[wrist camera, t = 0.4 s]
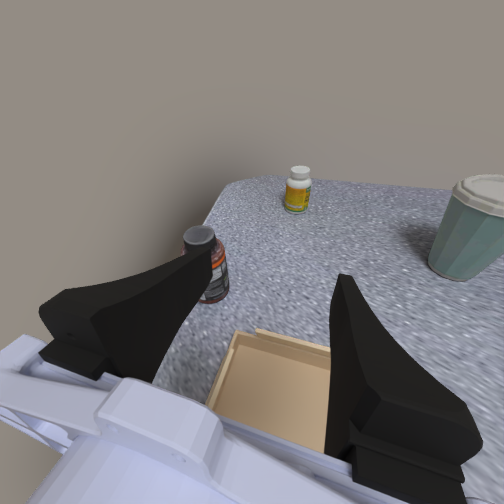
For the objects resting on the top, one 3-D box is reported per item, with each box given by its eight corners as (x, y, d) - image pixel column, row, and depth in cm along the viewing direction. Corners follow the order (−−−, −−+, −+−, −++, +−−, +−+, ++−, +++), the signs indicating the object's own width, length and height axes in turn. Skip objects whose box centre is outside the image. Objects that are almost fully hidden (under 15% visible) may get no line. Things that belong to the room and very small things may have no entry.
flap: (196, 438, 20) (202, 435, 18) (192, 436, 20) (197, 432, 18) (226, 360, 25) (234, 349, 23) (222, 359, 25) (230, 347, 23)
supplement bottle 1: (191, 279, 39) (175, 223, 31) (226, 273, 40) (219, 217, 32) (193, 309, 35) (174, 252, 27) (232, 301, 35) (225, 244, 28)
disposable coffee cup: (418, 282, 37) (476, 198, 27) (408, 242, 45) (450, 164, 35) (499, 298, 35) (595, 211, 25) (473, 252, 42) (539, 172, 32)
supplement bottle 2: (286, 202, 57) (289, 163, 51) (308, 204, 56) (314, 165, 50) (282, 213, 54) (285, 172, 47) (306, 216, 52) (312, 175, 46)
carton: (414, 600, 16) (442, 615, 14) (182, 489, 20) (171, 486, 18) (389, 385, 26) (402, 372, 24) (237, 341, 30) (235, 327, 28)
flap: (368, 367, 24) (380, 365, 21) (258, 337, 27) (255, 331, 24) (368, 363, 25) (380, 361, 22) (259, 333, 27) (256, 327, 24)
